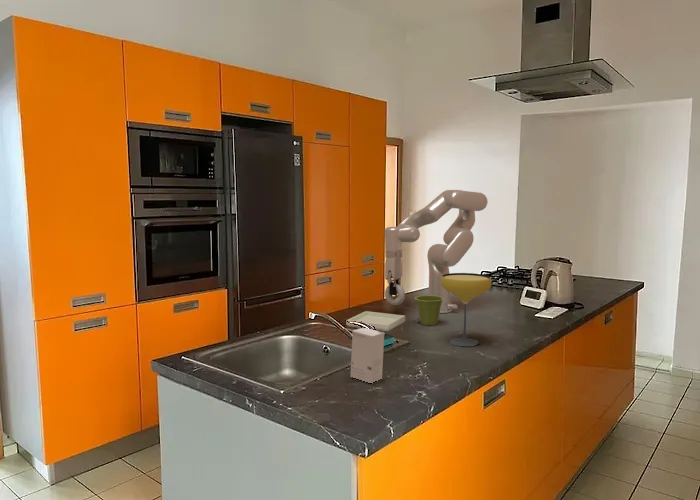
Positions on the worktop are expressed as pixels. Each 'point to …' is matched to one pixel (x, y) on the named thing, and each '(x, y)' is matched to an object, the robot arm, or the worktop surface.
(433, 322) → the plant pot
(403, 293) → the donut
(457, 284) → the cocktail glass
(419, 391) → the worktop surface
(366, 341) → the skincare box
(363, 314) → the tray
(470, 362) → the worktop surface
